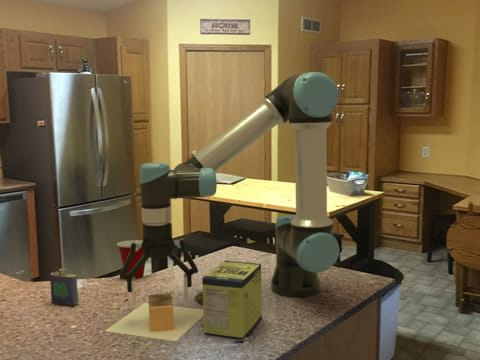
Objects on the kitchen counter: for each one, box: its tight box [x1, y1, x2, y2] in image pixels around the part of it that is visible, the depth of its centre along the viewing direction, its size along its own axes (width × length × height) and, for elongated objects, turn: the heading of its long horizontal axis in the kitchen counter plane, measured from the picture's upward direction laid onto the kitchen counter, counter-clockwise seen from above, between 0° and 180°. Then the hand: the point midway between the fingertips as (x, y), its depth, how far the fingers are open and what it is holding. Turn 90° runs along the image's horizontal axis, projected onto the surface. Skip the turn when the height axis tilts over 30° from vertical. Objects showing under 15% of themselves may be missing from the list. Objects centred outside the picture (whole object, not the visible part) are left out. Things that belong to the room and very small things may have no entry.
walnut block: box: [148, 292, 174, 332], centre depth 136 cm, size 6×6×10 cm
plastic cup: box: [116, 239, 146, 280], centre depth 178 cm, size 11×11×12 cm
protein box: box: [201, 260, 263, 344], centre depth 134 cm, size 10×16×16 cm
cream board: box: [104, 302, 204, 342], centre depth 139 cm, size 20×20×1 cm
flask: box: [49, 268, 79, 307], centre depth 154 cm, size 9×3×11 cm, turn 68°
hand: (160, 301), depth 139 cm, fingers open, 13 cm apart
